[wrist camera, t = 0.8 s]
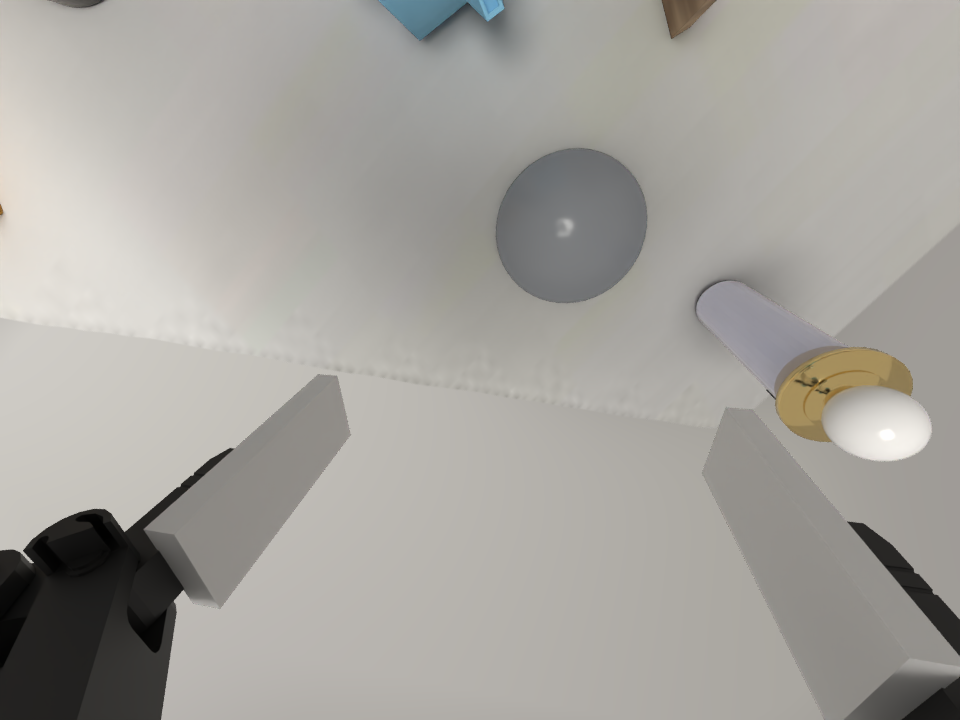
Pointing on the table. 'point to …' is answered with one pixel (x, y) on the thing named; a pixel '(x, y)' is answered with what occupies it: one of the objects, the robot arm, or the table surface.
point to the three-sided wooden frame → (683, 13)
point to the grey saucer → (571, 225)
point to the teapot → (435, 12)
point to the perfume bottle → (819, 376)
